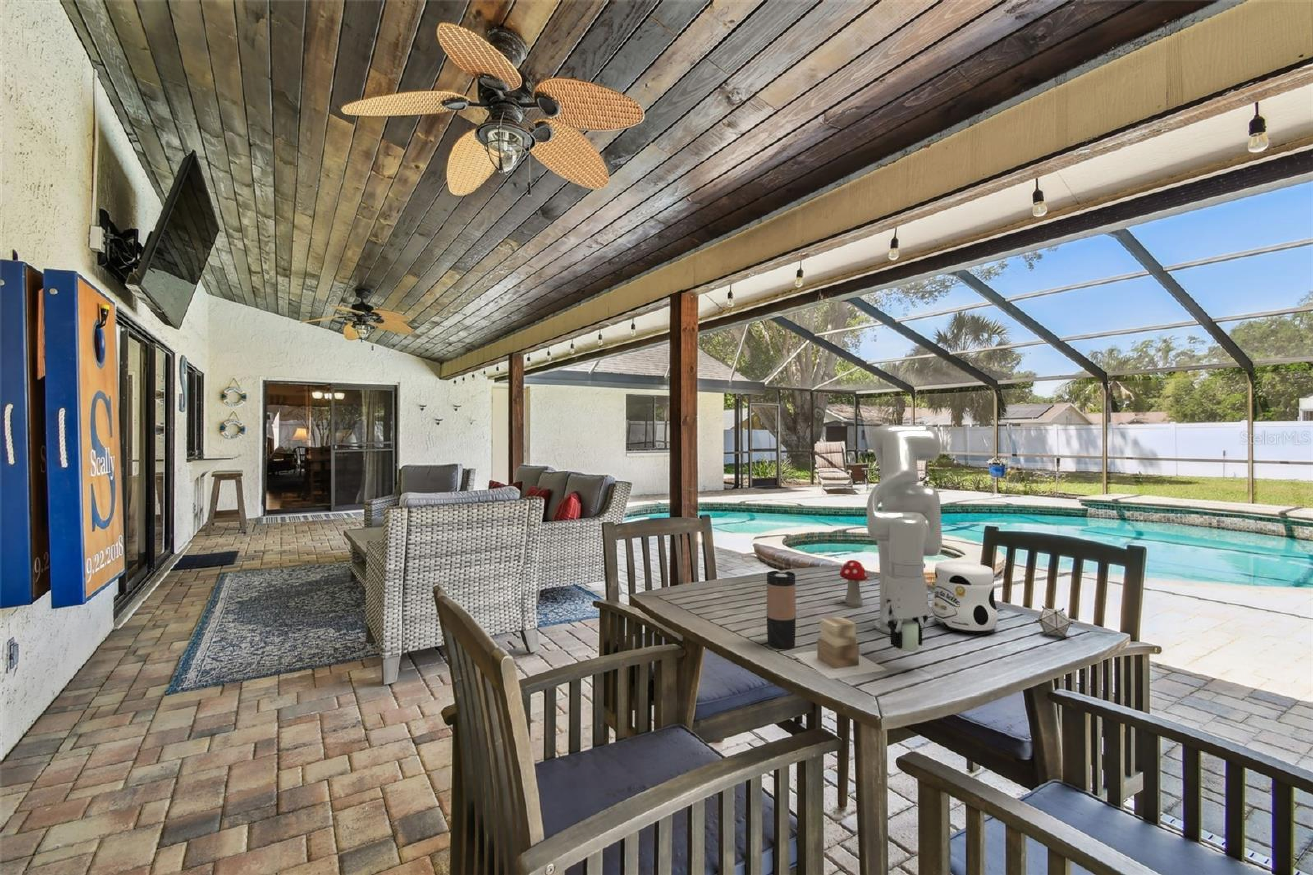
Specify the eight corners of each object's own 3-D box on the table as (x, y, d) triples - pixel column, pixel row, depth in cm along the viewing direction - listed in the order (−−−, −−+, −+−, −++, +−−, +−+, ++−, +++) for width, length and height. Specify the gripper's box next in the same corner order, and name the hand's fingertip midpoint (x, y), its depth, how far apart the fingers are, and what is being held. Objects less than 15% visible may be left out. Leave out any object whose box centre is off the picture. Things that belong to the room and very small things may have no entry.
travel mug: (779, 655, 149) (779, 578, 149) (760, 646, 156) (760, 572, 156) (801, 650, 152) (801, 575, 152) (783, 641, 159) (782, 569, 159)
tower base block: (841, 654, 147) (840, 635, 147) (858, 665, 140) (858, 644, 140) (817, 658, 144) (817, 638, 144) (834, 668, 138) (834, 648, 138)
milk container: (923, 628, 170) (923, 567, 170) (941, 615, 183) (941, 558, 183) (990, 642, 158) (990, 576, 158) (1003, 626, 171) (1003, 566, 171)
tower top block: (840, 636, 146) (840, 616, 146) (855, 644, 140) (855, 623, 140) (820, 638, 144) (820, 618, 144) (834, 647, 138) (834, 626, 138)
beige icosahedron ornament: (1057, 647, 164) (1077, 619, 164) (1064, 646, 157) (1084, 616, 157) (1025, 627, 169) (1044, 599, 169) (1030, 624, 161) (1050, 595, 162)
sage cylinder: (907, 642, 140) (907, 617, 140) (923, 649, 135) (923, 624, 135) (889, 644, 139) (889, 620, 139) (905, 652, 134) (905, 627, 134)
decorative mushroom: (873, 608, 190) (873, 563, 190) (849, 610, 188) (849, 564, 188) (857, 600, 199) (857, 556, 199) (834, 601, 198) (834, 557, 198)
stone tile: (844, 650, 152) (844, 646, 152) (886, 673, 137) (886, 669, 137) (792, 658, 147) (792, 654, 147) (829, 683, 132) (829, 678, 132)
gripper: (922, 562, 143) (922, 635, 143) (865, 569, 137) (866, 644, 138) (947, 569, 136) (946, 646, 136) (887, 576, 130) (888, 656, 131)
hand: (906, 644), depth 137 cm, fingers closed on sage cylinder, 5 cm apart
